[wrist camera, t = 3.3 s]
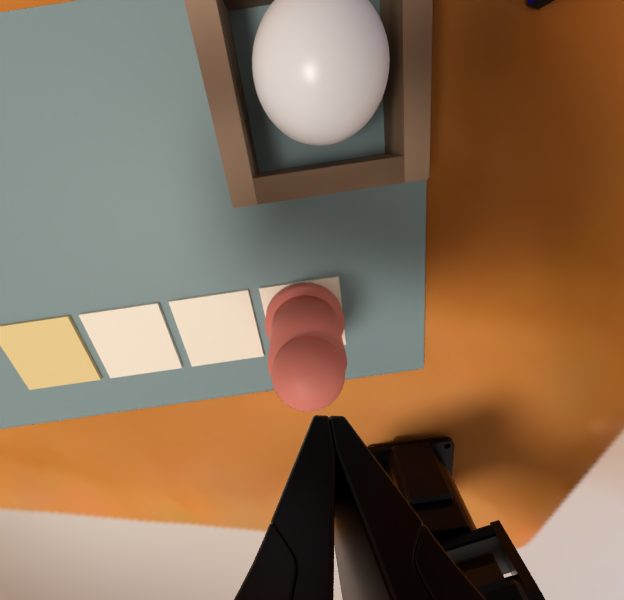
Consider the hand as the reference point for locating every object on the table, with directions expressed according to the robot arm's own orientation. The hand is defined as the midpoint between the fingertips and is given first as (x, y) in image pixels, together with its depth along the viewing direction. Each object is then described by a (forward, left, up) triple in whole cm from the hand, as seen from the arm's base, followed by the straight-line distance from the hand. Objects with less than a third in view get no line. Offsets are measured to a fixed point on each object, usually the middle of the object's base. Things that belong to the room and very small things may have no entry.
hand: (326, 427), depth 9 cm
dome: (+9, -1, -9) cm, 13 cm away
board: (+3, +8, -11) cm, 13 cm away
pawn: (-2, +1, -10) cm, 10 cm away
